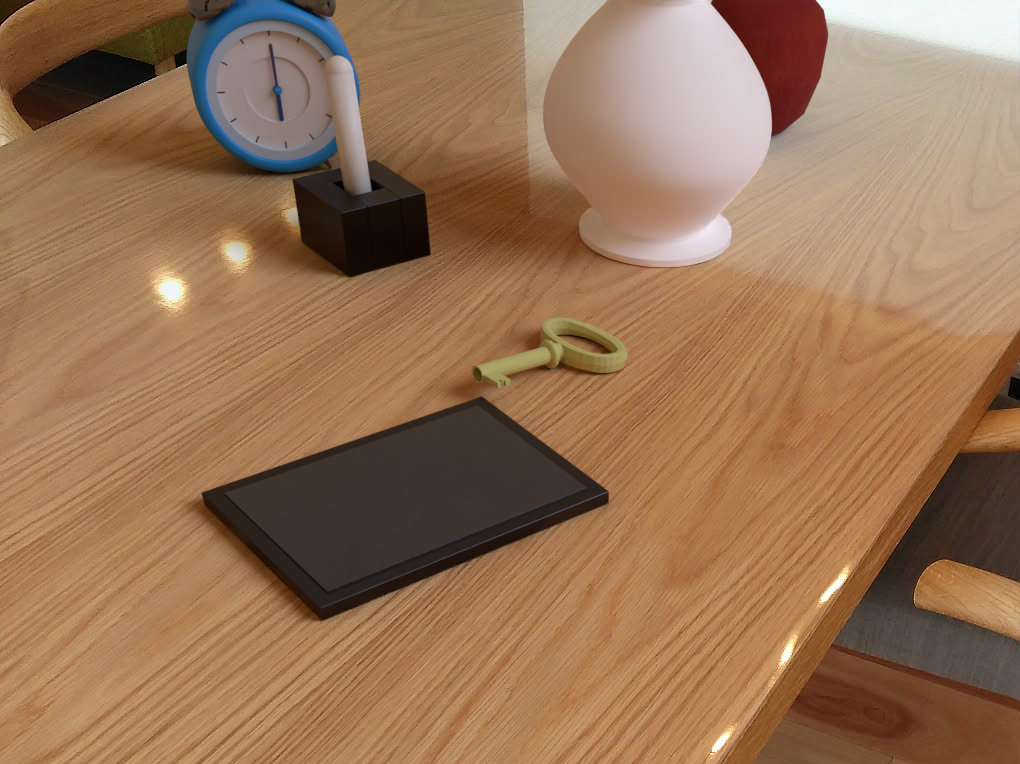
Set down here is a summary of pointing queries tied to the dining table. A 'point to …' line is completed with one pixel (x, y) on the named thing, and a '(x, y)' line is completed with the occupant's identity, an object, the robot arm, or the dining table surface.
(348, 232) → the holder
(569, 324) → the key
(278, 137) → the alarm clock
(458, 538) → the tablet
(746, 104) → the decorative vase
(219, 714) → the dining table surface
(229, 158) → the dining table surface
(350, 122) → the stylus
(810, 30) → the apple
